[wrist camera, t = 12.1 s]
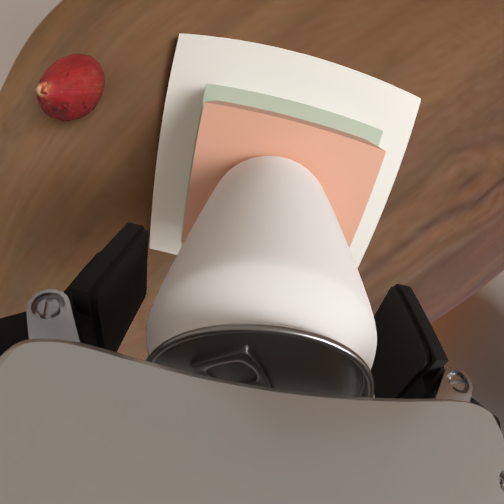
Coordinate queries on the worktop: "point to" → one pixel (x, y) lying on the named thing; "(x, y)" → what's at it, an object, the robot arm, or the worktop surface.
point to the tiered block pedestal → (275, 131)
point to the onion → (71, 87)
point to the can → (267, 289)
